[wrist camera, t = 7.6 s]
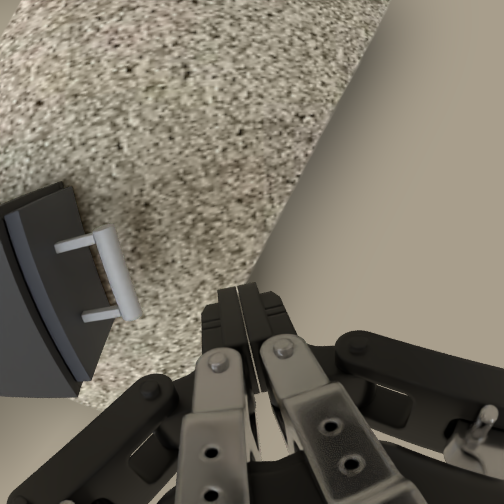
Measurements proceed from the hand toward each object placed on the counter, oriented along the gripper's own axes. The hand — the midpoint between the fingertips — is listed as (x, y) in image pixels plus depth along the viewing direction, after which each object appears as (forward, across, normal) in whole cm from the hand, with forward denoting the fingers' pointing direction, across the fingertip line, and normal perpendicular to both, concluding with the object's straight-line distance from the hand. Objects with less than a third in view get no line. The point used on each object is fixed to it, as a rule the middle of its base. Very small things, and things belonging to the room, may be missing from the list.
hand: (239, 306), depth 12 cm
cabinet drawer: (+11, +15, 0) cm, 18 cm away
